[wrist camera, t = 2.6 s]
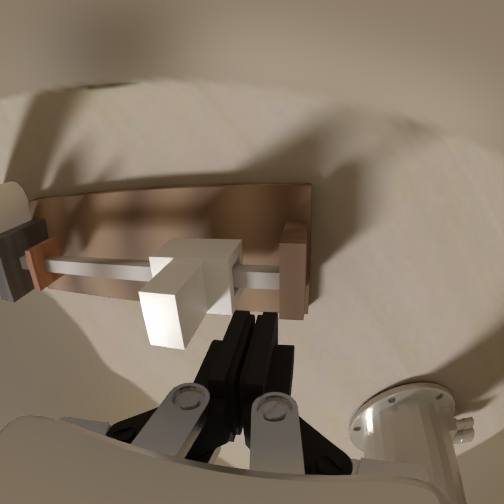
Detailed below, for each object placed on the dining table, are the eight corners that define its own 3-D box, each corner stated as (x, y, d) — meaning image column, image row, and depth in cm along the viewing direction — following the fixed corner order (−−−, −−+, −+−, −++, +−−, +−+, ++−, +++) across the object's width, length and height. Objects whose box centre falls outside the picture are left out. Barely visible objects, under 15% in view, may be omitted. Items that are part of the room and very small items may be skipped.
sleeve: (241, 239, 21) (204, 293, 14) (244, 288, 22) (213, 356, 15) (172, 238, 22) (113, 285, 15) (178, 284, 23) (128, 343, 16)
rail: (311, 183, 22) (310, 207, 14) (308, 306, 25) (303, 371, 18) (35, 199, 27) (-20, 220, 20) (54, 283, 30) (8, 316, 23)
